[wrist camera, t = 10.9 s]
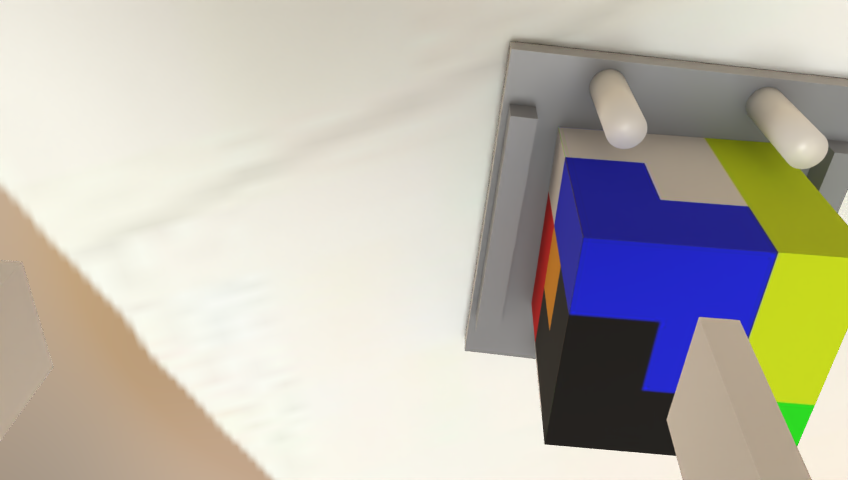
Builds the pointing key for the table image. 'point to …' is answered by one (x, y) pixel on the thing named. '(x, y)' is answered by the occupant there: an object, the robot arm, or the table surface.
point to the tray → (569, 107)
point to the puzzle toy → (678, 280)
